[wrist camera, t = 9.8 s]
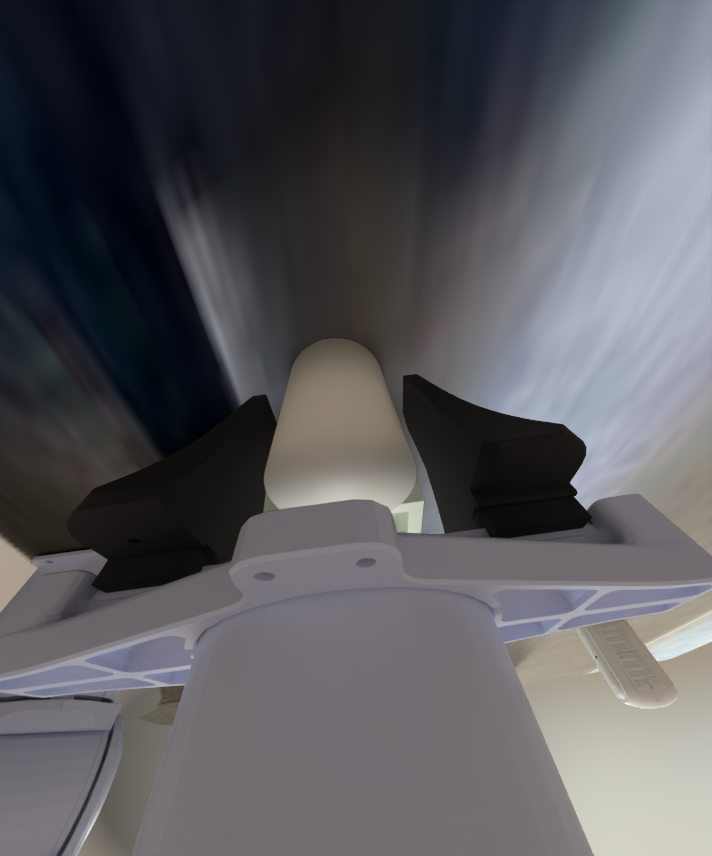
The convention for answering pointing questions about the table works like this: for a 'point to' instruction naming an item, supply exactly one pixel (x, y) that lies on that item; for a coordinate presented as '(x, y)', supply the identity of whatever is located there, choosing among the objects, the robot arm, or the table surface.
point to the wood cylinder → (338, 432)
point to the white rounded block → (628, 665)
